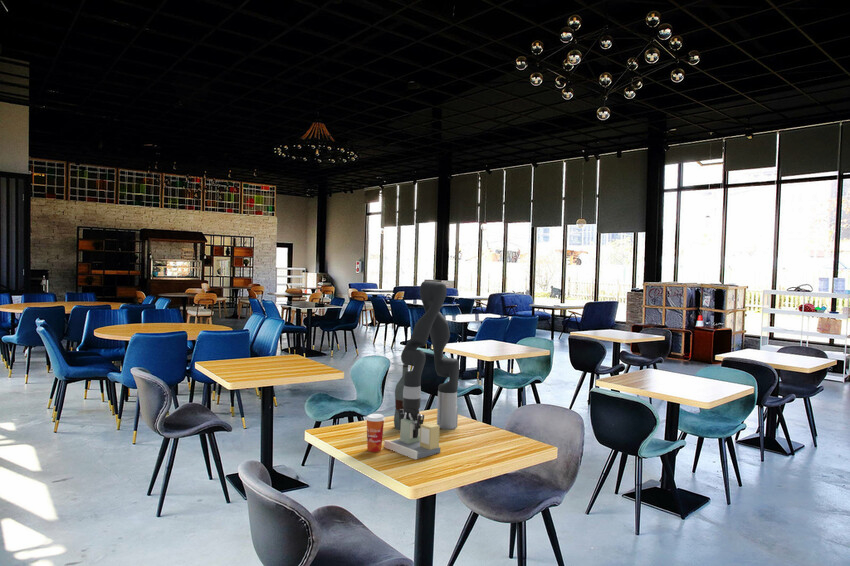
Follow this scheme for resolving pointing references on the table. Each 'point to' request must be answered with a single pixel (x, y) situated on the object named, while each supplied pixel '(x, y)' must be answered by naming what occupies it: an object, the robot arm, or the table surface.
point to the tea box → (408, 431)
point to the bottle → (399, 398)
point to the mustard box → (429, 436)
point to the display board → (410, 449)
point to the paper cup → (374, 432)
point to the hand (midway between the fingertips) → (410, 436)
